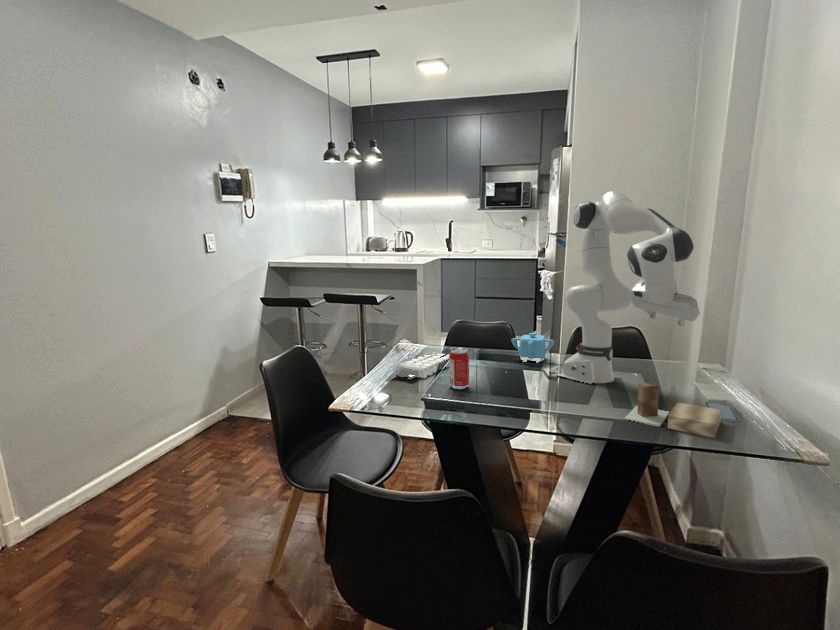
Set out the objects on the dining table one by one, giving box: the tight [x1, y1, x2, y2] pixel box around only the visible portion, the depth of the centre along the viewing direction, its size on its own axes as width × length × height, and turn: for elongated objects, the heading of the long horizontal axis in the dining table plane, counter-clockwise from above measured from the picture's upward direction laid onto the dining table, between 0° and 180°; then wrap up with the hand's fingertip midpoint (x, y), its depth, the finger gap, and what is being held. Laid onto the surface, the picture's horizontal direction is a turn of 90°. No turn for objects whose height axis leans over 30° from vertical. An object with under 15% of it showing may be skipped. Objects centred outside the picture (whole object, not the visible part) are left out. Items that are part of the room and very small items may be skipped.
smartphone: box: [703, 401, 740, 423], centre depth 147 cm, size 7×1×15 cm
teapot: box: [511, 330, 555, 359], centre depth 219 cm, size 18×16×14 cm
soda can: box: [448, 348, 470, 386], centre depth 178 cm, size 8×8×15 cm
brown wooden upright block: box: [637, 382, 660, 417], centre depth 145 cm, size 5×3×10 cm, turn 91°
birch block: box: [666, 401, 722, 439], centre depth 137 cm, size 12×14×4 cm
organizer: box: [398, 353, 450, 377], centre depth 205 cm, size 13×5×35 cm
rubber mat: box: [624, 404, 670, 428], centre depth 145 cm, size 10×14×1 cm
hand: (667, 320), depth 150 cm, fingers open, 8 cm apart
